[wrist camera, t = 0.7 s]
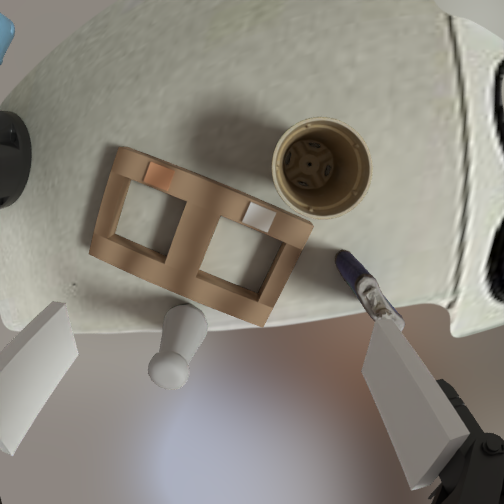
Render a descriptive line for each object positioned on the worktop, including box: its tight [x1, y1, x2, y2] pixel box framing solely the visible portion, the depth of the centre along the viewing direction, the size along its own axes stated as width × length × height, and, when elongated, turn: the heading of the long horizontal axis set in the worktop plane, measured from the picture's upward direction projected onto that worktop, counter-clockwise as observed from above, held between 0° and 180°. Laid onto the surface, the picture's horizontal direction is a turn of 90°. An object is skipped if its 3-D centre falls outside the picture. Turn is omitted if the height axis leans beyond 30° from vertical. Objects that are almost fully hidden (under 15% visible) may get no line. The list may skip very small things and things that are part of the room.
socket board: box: [89, 147, 314, 327], centre depth 37 cm, size 24×14×3 cm, turn 67°
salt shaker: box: [148, 304, 208, 390], centre depth 35 cm, size 6×6×13 cm
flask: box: [335, 250, 405, 331], centre depth 34 cm, size 9×3×11 cm, turn 42°
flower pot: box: [272, 117, 373, 219], centre depth 31 cm, size 9×9×9 cm
